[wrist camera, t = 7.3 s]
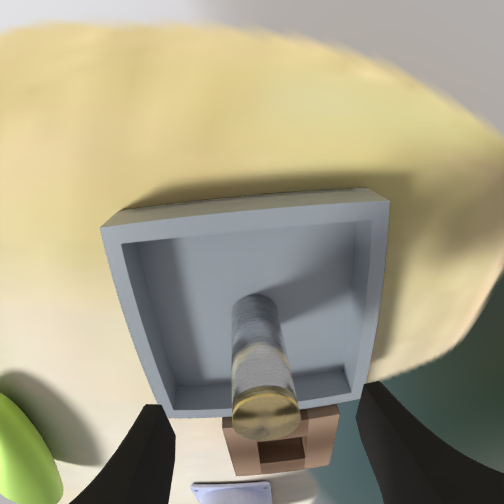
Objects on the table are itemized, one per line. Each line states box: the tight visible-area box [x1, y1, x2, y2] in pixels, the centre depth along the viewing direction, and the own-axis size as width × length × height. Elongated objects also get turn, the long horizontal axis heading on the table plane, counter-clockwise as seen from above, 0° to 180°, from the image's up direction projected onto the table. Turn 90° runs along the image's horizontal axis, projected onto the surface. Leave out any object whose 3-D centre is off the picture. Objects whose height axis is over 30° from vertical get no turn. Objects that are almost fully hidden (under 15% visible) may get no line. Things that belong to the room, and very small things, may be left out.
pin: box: [231, 294, 301, 441], centre depth 13 cm, size 2×2×7 cm
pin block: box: [222, 404, 340, 476], centre depth 19 cm, size 7×7×3 cm
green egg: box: [0, 393, 63, 504], centre depth 19 cm, size 8×12×20 cm
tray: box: [100, 188, 390, 418], centre depth 16 cm, size 12×12×2 cm
